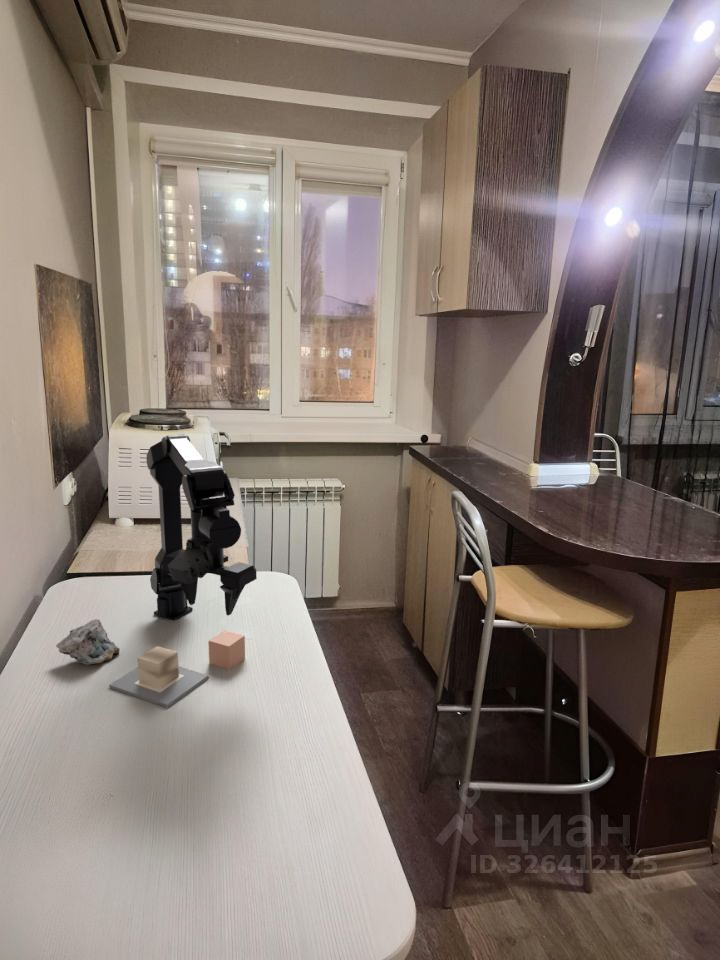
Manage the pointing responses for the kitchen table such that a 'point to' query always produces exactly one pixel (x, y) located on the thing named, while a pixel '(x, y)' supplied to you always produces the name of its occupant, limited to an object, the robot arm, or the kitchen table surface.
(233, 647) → the terracotta cube
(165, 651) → the beech cube
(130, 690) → the slate board
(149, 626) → the kitchen table surface
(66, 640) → the mineral specimen
